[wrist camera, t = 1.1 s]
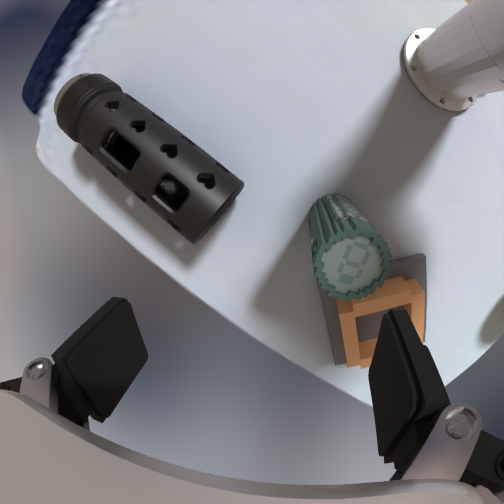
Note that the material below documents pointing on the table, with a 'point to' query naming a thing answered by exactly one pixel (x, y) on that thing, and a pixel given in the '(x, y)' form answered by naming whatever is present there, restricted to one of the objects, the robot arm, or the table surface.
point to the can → (346, 249)
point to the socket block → (376, 311)
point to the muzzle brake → (146, 154)
